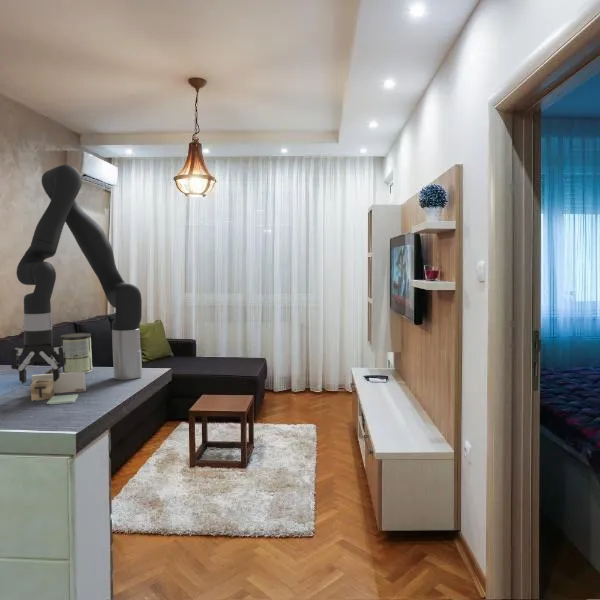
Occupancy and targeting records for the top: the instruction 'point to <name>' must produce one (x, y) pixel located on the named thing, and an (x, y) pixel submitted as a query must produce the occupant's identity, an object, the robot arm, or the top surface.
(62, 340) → the coffee can
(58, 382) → the screen
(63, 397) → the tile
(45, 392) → the letter cube
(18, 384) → the top surface
